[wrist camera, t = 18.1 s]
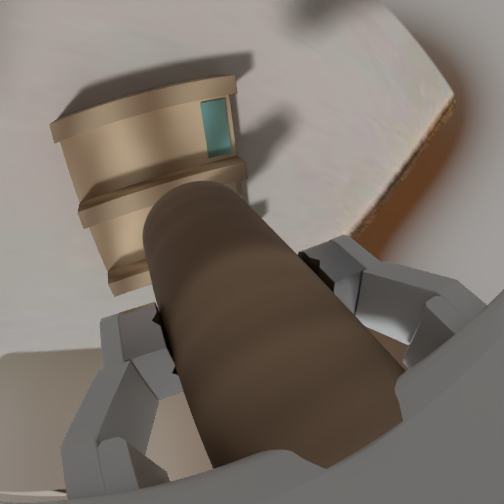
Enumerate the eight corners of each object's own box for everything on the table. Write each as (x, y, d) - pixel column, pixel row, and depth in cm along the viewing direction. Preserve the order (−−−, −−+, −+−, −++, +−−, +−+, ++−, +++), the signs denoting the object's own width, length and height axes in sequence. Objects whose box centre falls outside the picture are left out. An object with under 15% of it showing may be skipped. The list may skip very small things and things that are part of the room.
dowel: (128, 201, 9) (214, 513, 3) (242, 168, 10) (468, 364, 4) (160, 292, 12) (251, 526, 5) (254, 260, 13) (398, 449, 6)
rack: (112, 277, 28) (114, 296, 26) (56, 119, 19) (49, 124, 17) (243, 234, 32) (255, 248, 30) (222, 74, 23) (235, 74, 21)
